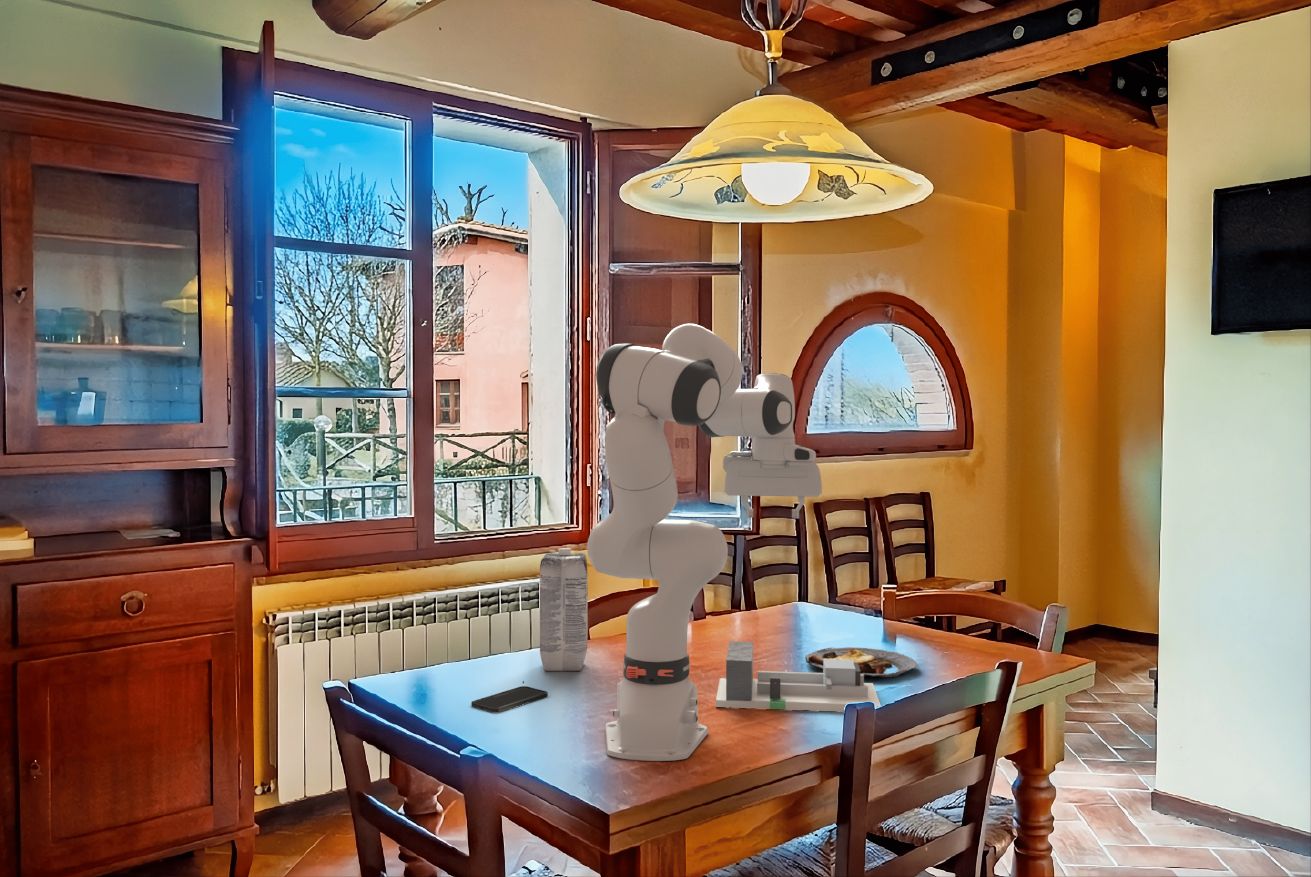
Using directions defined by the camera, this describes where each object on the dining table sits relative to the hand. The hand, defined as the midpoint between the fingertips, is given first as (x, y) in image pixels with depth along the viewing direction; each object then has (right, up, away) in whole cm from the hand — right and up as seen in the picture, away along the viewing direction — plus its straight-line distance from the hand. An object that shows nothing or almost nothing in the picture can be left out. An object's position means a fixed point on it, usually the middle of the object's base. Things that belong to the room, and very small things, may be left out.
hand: (772, 517), depth 208 cm
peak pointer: (-1, -35, -11) cm, 36 cm away
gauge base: (+4, -36, -5) cm, 37 cm away
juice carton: (-45, -36, +19) cm, 61 cm away
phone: (-54, -37, -7) cm, 66 cm away
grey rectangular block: (-7, -35, -4) cm, 36 cm away
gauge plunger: (+13, -35, -7) cm, 38 cm away
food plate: (+22, -36, +19) cm, 46 cm away
